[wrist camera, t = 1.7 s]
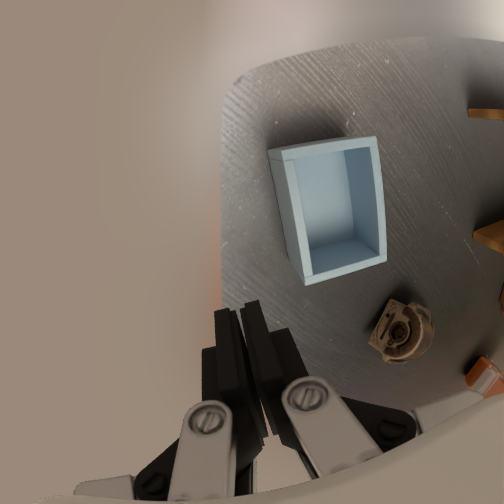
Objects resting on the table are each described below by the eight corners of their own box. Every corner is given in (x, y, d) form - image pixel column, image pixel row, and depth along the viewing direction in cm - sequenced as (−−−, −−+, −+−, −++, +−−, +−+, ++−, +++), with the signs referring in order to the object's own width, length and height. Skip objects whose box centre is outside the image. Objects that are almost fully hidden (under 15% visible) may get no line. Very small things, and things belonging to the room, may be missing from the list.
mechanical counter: (443, 286, 26) (388, 355, 25) (462, 345, 29) (419, 401, 28) (403, 274, 33) (352, 331, 32) (430, 329, 36) (389, 378, 35)
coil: (475, 378, 47) (506, 414, 33) (454, 373, 43) (492, 417, 29) (491, 356, 45) (525, 391, 32) (474, 347, 41) (516, 389, 28)
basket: (266, 149, 24) (280, 150, 19) (346, 136, 24) (376, 135, 19) (288, 260, 28) (305, 286, 23) (359, 241, 28) (387, 261, 23)
